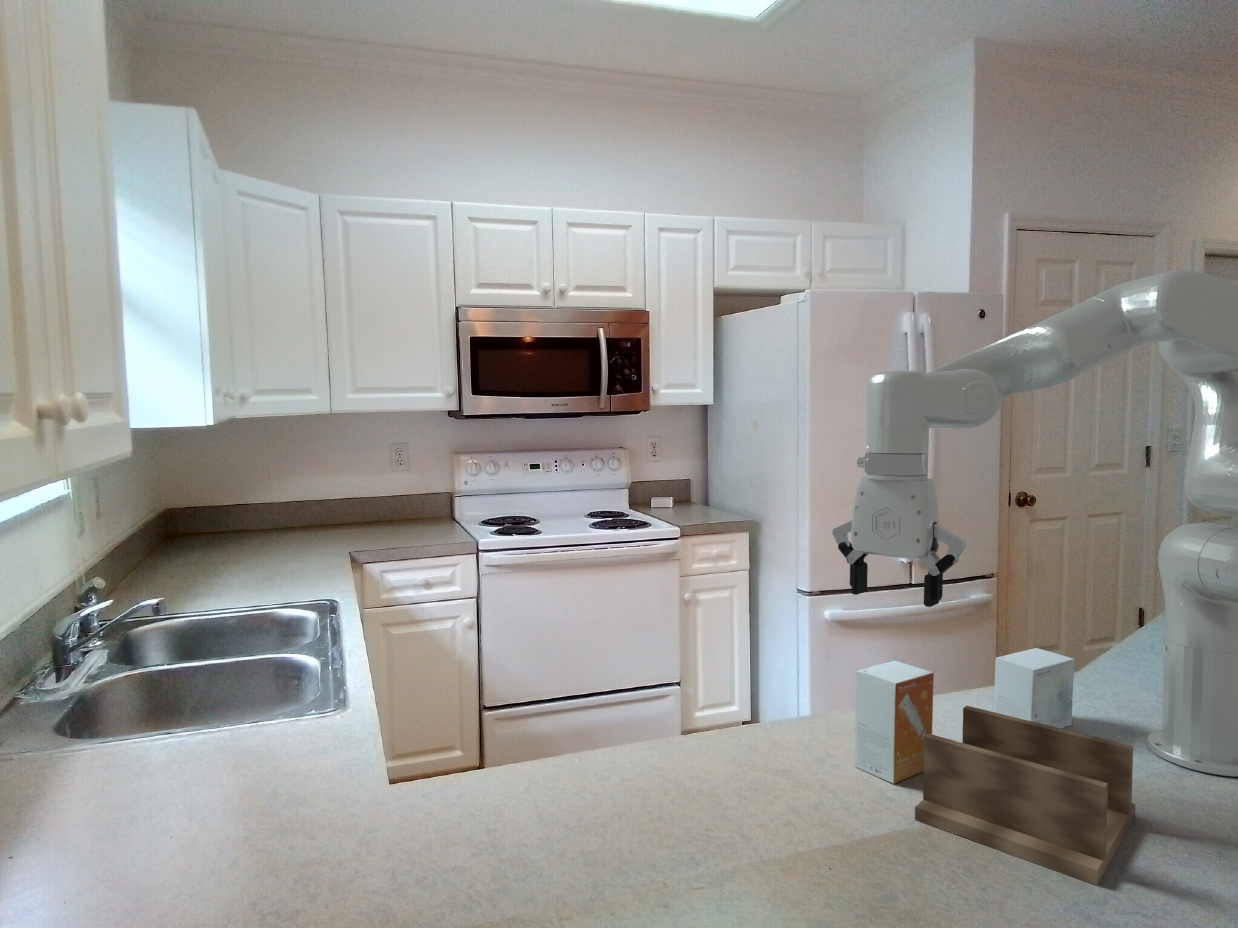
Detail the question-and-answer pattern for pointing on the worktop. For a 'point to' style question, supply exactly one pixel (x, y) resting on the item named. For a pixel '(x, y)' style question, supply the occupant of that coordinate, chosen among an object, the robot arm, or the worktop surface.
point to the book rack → (1031, 791)
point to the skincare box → (1035, 687)
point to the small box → (892, 719)
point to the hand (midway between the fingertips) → (894, 598)
